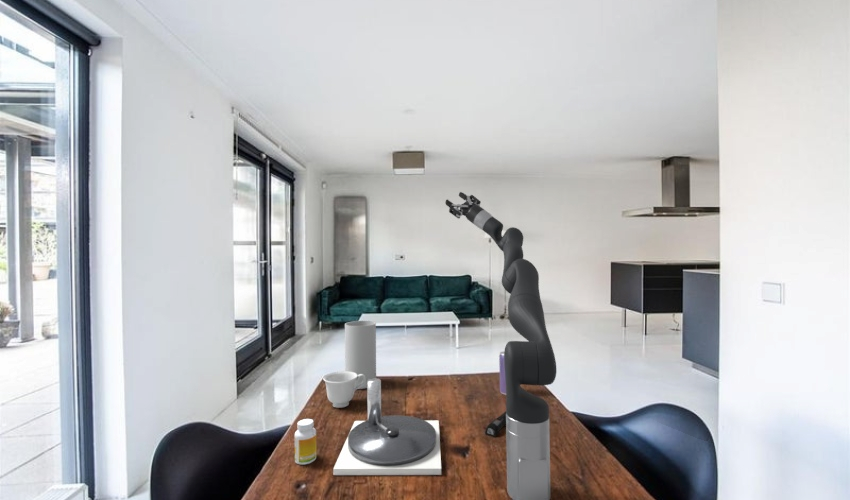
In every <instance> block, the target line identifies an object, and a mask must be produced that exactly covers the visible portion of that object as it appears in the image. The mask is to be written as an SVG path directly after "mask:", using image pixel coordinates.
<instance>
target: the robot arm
mask: <svg viewBox="0 0 850 500" xmlns="http://www.w3.org/2000/svg"><path fill="white" fill-rule="evenodd" d="M458 196H459V198H461V199H462V200H463V201H465V202H464V203H461V204H459V203H458V204H454V203H453V202H452V201H451V200H449V199H445V206H447V207H448V208H449V210H448V212H449V213H450V214H451V215H452V216H454V217H456V218H457V219H458V220H459V219H461V217H462V216H465V218H466V220H468V221H469V222H470V223H471V224H473V225H474V226H475V227H477V228H478V229H479V230H482V231H483V232H484V233H486V234H487V235H488V236H490V238H491V239H492V240H493V241H494V242H495V244H496V246H497V247H498V248H499V249H500V251H501V252H503V261H504V262H503V271H502V276H501V285H502V288H503V289H504V290H505V291H506V292H507V293H508V294H510V295H509V299H508V304H507V313H508V315H507V316H508V320H509V321H508V322H509V323H510V325H511V327H512V328H513V329H514V331H516V333H518V334H519V335H521V337H523V338H524V339H525V340H523V341H521V340H520V341H519V340H511V341H508V342H507V343H506V345H505V346H504V347H505V348H504V350H503V351H504V365H505V379H506V395H505V397H506V398H505V403H506V404H505V411H506V427H505V428H506V429H505V433H506V434H505V437H506V438H505V440H506V446H505V447H506V491H507V494H508V496H509V497H510V498H511V499H512V500H550V499H551V460H550V459H551V457H550V455H551V450H550V448H551V447H550V444H551V443H550V440H551V439H550V405H549V404H548V402H547V401H546V400H545V399H543V398H542V397H540V396H537V395H535V394H533V393H530V392H529V391H527V390H526V389H524V388H523V387H522V386H521V385H524V386H525V385H526V386H548V385H552V384H553V383H554V382H555V380H556V377H557V361H556V356H555V353H554V350H553V349H554V348H553V345H552V343H551V340H550V337H549V334H548V330H547V326H546V320H545V314H544V309H543V303H542V301H541V295H540V294H541V293H540V288H539V286H540V284H539V283H540V278H539V277H540V276H539V271H538V270H537V268H536V266H535V265H534V263H532V262H530V261H529V260H527V259H525V258H524V250H523V244H524V243H523V242H524V234H523V232H522V231H521V230H520V229H519V228H517V227H512V226H511V227H509V228H507V229H506V231H505V232H504V234H503V235H502V232H503V229H504V224H503V223H502V222H501V221H500V220H498V219H497V218H496V217H494V216H493V215H492V214H491V213H490V212H488V210H485V209H484V208H483V207H482V206H481V200H479V199H478V198H477V197H476V196H474V195H473V194H470V195H467V194H465V193H464V192H462V191H459V194H458Z"/></svg>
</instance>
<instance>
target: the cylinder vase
mask: <svg viewBox="0 0 850 500" xmlns="http://www.w3.org/2000/svg"><path fill="white" fill-rule="evenodd" d="M376 324H377V323H376V322H375V321H371V320H354V321H348V322H346V323H344V371H349V372H354V373H356V374H357V375H359V374H363V375H364V376H365V379H366V380H365V383H364V385H363V386H362V387H360V388H358V389H357V390H367V380H369V379H374V378H376V379H377V327H376V326H377V325H376ZM362 381H363V377H360V378H359V380H358V381H355V387H356V386H358V385H360V384H361V383H362Z"/></svg>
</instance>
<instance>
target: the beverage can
mask: <svg viewBox="0 0 850 500" xmlns="http://www.w3.org/2000/svg"><path fill="white" fill-rule="evenodd" d="M504 351H505V350H503V351H500V352H499V356H498V357H499V360H498V361H499V362H498V363H499V392H500V394H503V395H505V396H506V379H505V365H504Z"/></svg>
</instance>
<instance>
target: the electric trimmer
mask: <svg viewBox="0 0 850 500" xmlns="http://www.w3.org/2000/svg"><path fill="white" fill-rule="evenodd" d="M504 426H506V410H505V411H504V412H503V413H502V414H500V415H499V416H498V417H496V418H495V419H494V420H493V421H491V422H490V423H489V424H488V425H487V426H486V429H485V432H484V434H485V436H488V437H492V438H496V437H497V436H498V434H499V431H500V430H501V429H502V428H503V427H504Z"/></svg>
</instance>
